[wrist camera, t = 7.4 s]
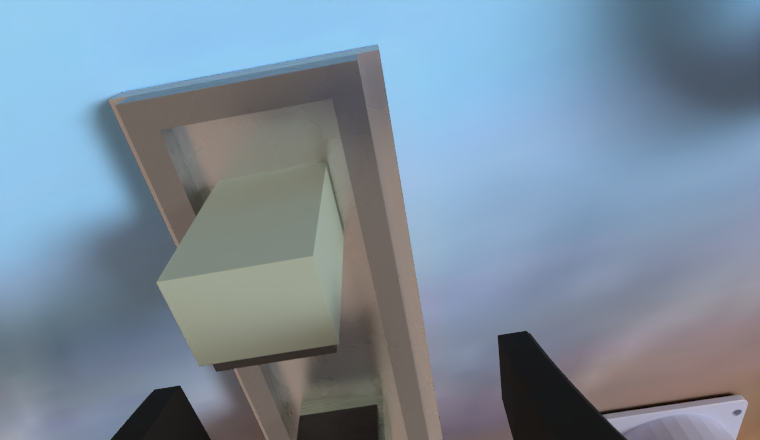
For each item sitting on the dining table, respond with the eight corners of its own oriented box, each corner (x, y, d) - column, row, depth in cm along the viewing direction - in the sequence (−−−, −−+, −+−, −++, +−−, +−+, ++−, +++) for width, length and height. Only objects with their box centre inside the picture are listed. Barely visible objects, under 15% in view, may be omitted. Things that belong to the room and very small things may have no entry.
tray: (439, 422, 26) (465, 568, 20) (279, 446, 26) (256, 596, 20) (377, 44, 16) (391, 101, 10) (121, 92, 16) (-21, 175, 10)
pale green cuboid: (217, 180, 17) (156, 282, 12) (326, 161, 17) (312, 255, 11) (249, 261, 19) (207, 380, 13) (347, 244, 18) (343, 359, 13)
